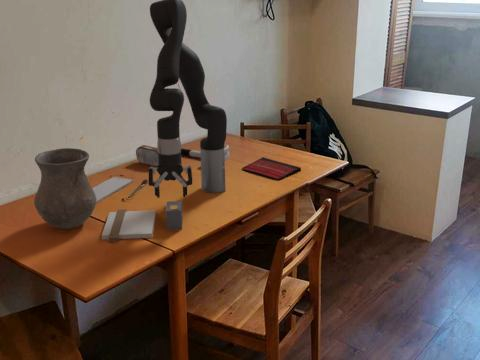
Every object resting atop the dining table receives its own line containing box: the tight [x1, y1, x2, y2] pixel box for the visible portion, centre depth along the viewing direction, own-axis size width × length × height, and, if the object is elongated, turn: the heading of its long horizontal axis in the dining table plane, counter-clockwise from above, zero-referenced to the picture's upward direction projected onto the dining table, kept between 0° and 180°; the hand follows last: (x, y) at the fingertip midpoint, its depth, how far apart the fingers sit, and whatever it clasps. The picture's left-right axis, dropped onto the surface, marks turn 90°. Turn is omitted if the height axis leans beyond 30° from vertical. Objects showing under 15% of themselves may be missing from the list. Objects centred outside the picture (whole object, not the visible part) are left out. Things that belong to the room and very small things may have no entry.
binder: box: [241, 156, 302, 181], centre depth 235 cm, size 16×2×21 cm
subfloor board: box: [101, 208, 157, 243], centre depth 184 cm, size 16×22×2 cm
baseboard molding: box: [92, 174, 134, 204], centre depth 212 cm, size 31×3×12 cm
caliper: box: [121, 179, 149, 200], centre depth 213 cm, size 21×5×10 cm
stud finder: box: [165, 200, 184, 231], centre depth 184 cm, size 5×8×7 cm, turn 4°
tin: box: [135, 144, 158, 168], centre depth 241 cm, size 15×3×8 cm, turn 58°
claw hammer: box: [181, 144, 230, 162], centre depth 253 cm, size 5×22×30 cm
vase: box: [33, 147, 97, 231], centre depth 182 cm, size 20×19×25 cm
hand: (171, 196), depth 182 cm, fingers open, 8 cm apart
